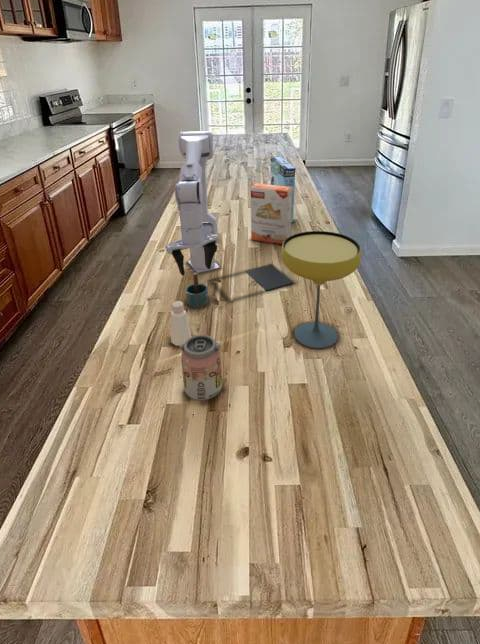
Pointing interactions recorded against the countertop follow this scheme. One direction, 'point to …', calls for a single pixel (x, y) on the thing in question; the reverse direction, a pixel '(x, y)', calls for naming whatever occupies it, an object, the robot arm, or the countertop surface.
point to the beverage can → (201, 367)
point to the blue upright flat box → (283, 176)
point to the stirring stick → (196, 283)
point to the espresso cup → (197, 295)
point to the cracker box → (271, 213)
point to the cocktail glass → (320, 273)
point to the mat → (269, 277)
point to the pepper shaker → (179, 324)
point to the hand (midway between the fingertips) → (195, 270)
